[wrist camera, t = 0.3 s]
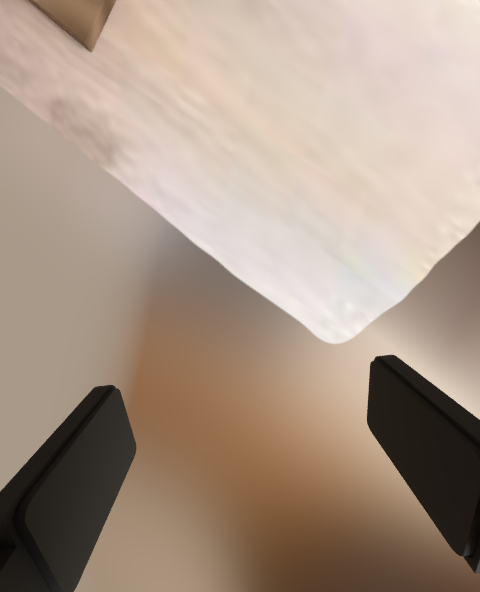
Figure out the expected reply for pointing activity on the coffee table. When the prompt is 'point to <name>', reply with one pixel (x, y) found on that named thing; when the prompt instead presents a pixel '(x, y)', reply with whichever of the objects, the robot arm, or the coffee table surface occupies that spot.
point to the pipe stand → (78, 17)
